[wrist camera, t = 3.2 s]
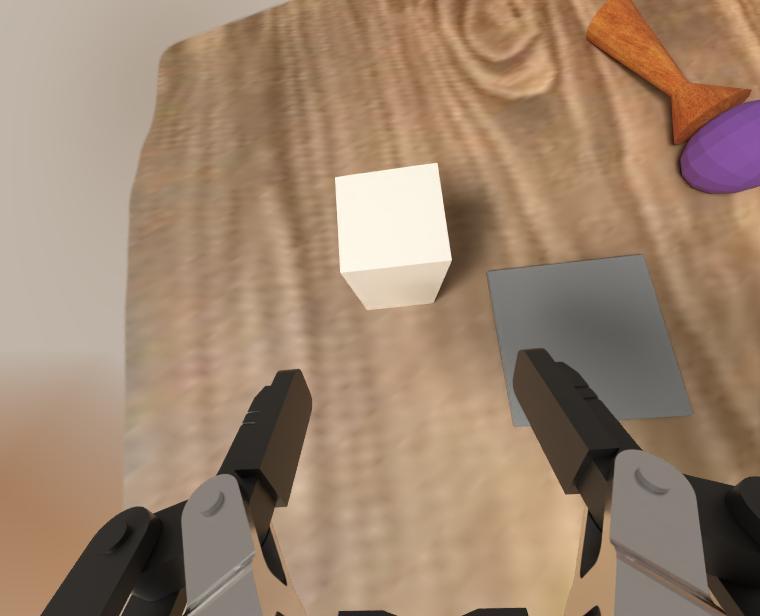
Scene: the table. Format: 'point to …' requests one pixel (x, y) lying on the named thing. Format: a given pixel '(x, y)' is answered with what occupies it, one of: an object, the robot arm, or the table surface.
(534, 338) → the mat
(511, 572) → the table surface
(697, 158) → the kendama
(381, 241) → the cover
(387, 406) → the table surface
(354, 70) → the table surface
